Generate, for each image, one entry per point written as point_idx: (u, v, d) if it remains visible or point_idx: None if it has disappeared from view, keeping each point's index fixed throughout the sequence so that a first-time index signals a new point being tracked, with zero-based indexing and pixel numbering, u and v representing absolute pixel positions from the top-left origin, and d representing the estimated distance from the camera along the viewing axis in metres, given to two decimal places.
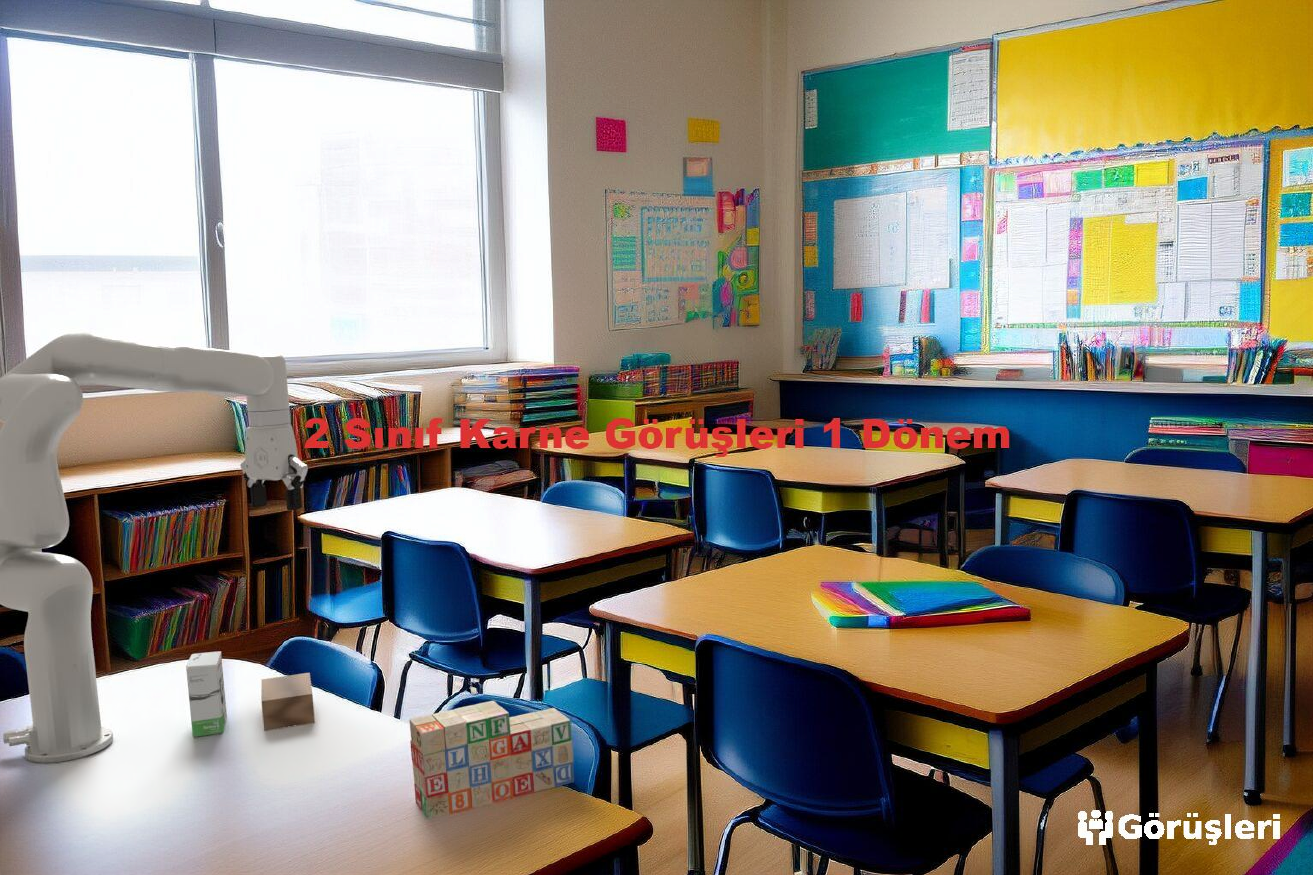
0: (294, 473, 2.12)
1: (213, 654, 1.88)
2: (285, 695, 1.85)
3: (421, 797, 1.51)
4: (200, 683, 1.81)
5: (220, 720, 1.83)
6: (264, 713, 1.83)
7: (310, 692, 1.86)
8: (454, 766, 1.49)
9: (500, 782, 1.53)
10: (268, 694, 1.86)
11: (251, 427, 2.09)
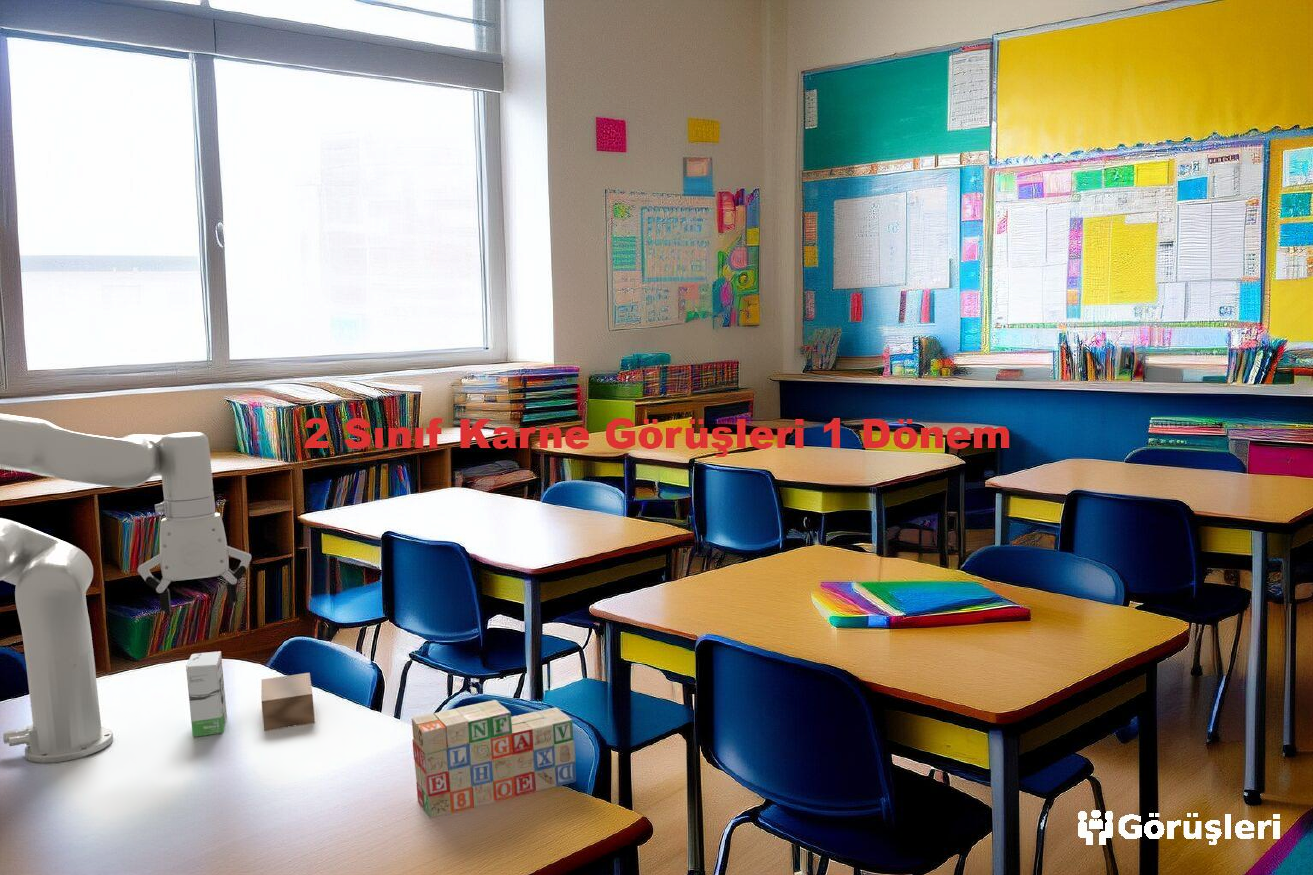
0: None
1: (213, 654, 1.88)
2: (285, 695, 1.85)
3: (423, 796, 1.51)
4: (200, 683, 1.81)
5: (220, 720, 1.83)
6: (264, 713, 1.83)
7: (310, 692, 1.86)
8: (456, 765, 1.50)
9: (502, 781, 1.53)
10: (268, 694, 1.86)
11: (184, 519, 1.78)
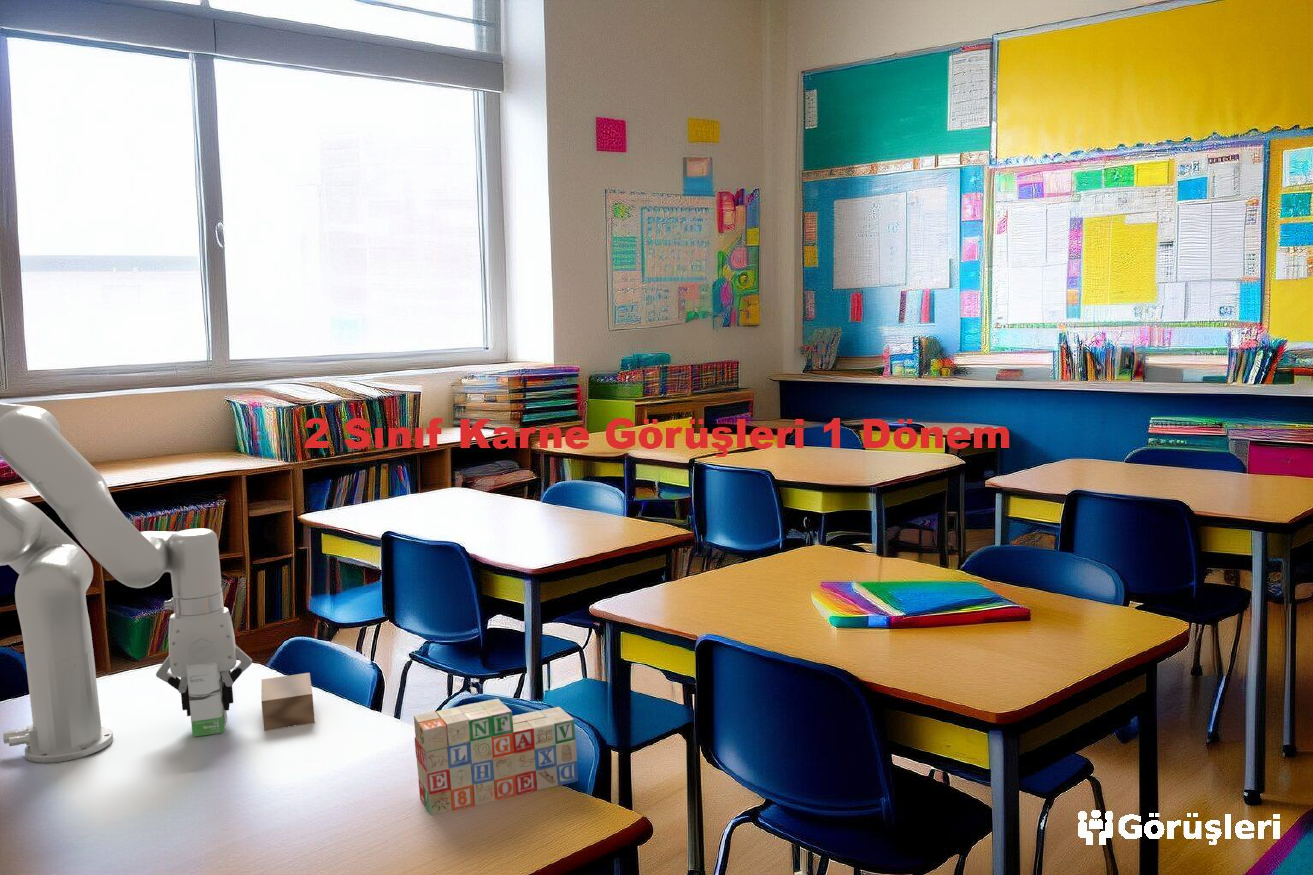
0: None
1: None
2: (285, 695, 1.85)
3: (424, 793, 1.52)
4: (200, 683, 1.81)
5: (220, 720, 1.83)
6: (264, 713, 1.83)
7: (310, 692, 1.86)
8: (456, 763, 1.50)
9: (503, 780, 1.53)
10: (268, 694, 1.86)
11: (192, 617, 1.80)
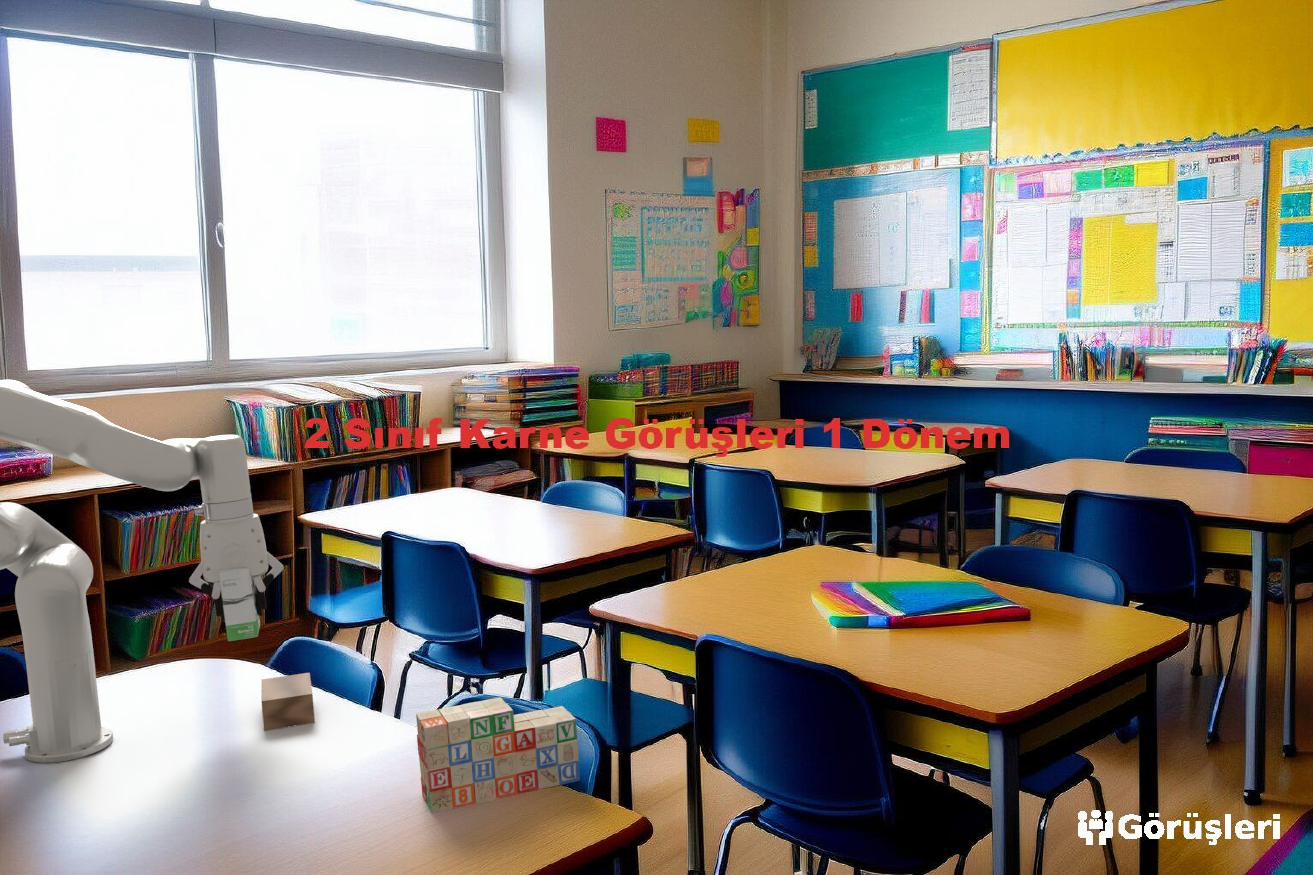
0: None
1: None
2: (285, 695, 1.85)
3: (426, 791, 1.53)
4: (233, 587, 1.81)
5: (254, 624, 1.83)
6: (264, 713, 1.83)
7: (310, 692, 1.86)
8: (457, 762, 1.51)
9: (504, 779, 1.54)
10: (268, 694, 1.86)
11: (223, 521, 1.80)
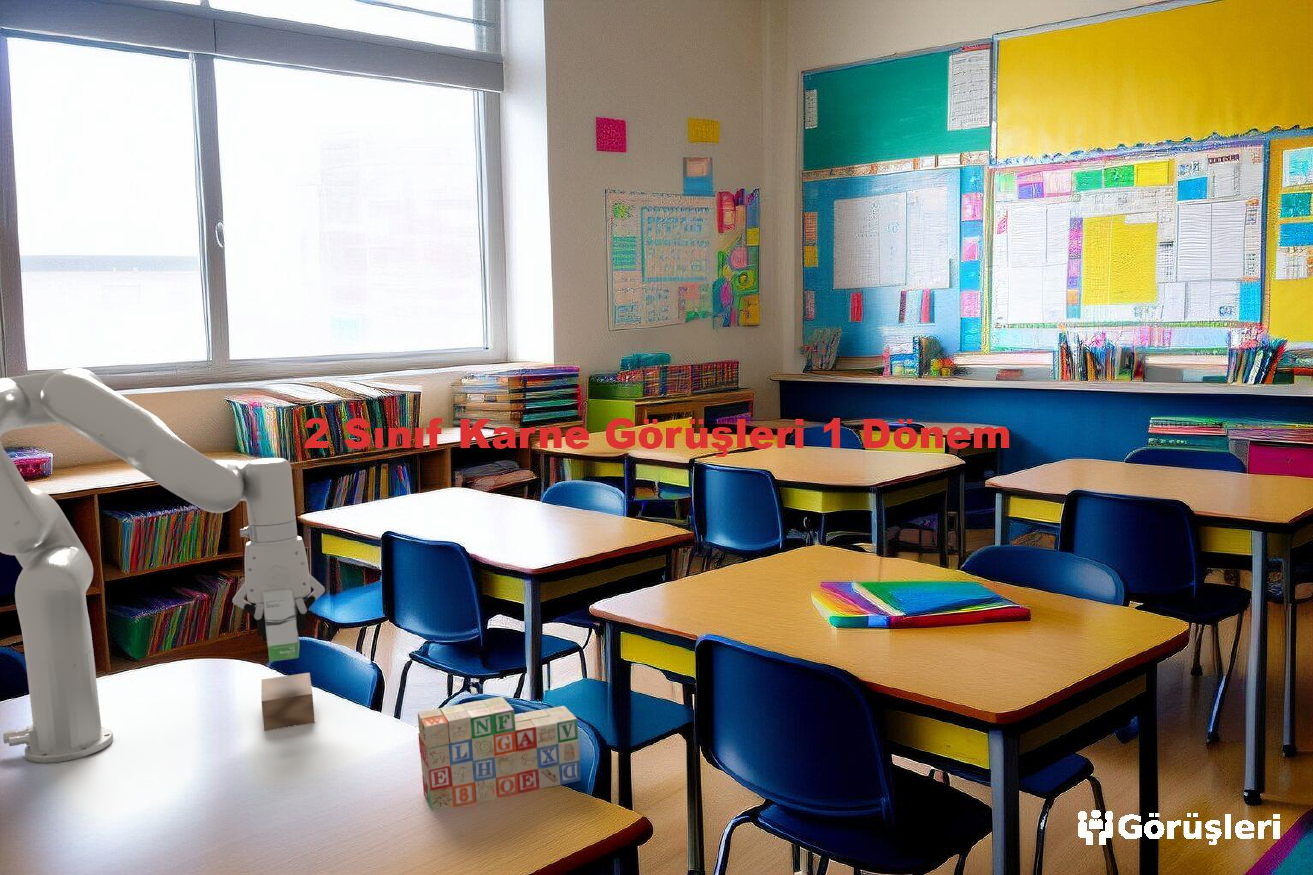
0: None
1: None
2: (285, 695, 1.85)
3: (427, 789, 1.53)
4: (276, 608, 1.84)
5: (296, 645, 1.85)
6: (264, 713, 1.83)
7: (310, 692, 1.86)
8: (458, 760, 1.51)
9: (505, 778, 1.54)
10: (268, 694, 1.86)
11: (268, 543, 1.83)
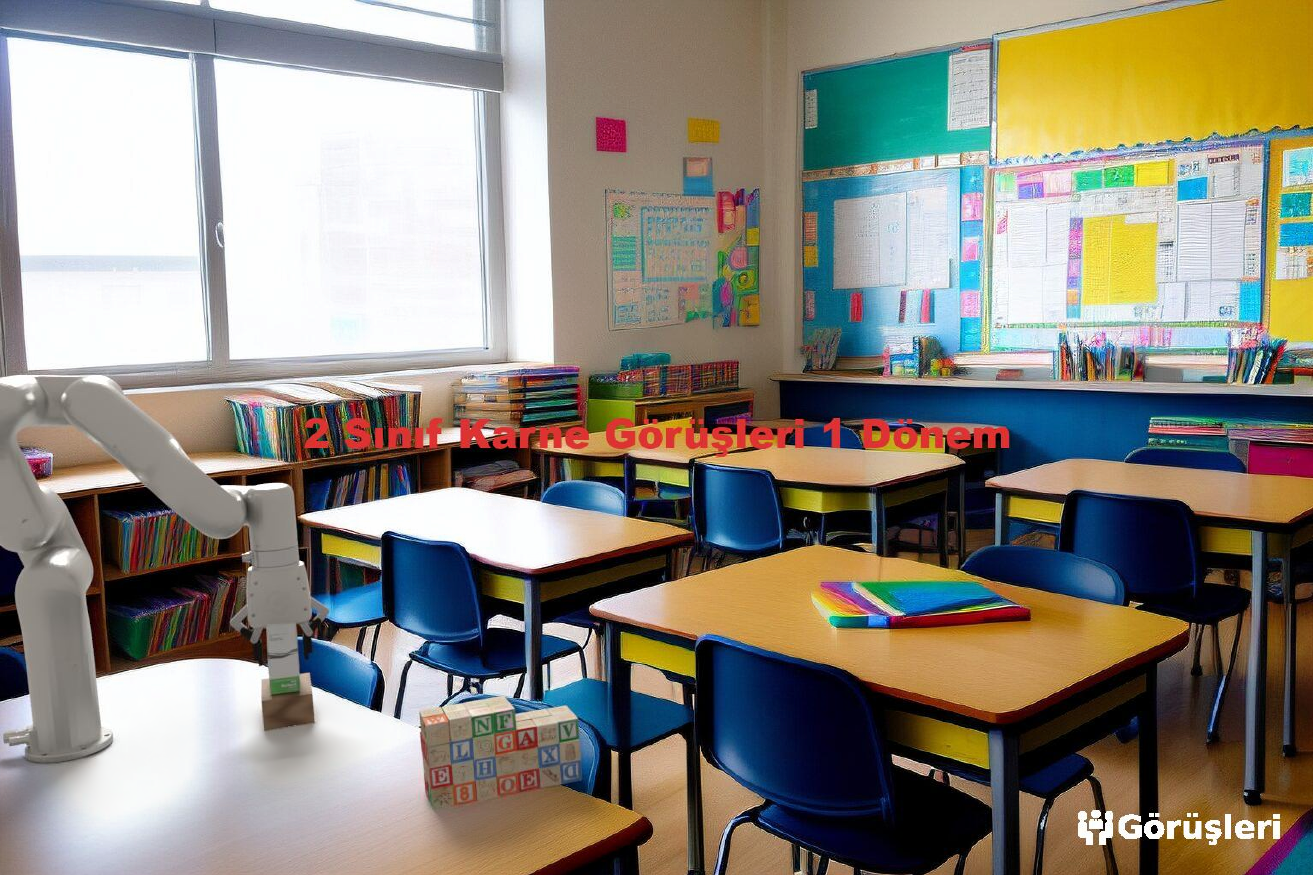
0: None
1: None
2: (285, 695, 1.85)
3: (428, 788, 1.54)
4: (279, 642, 1.85)
5: (297, 679, 1.86)
6: (264, 713, 1.83)
7: (310, 692, 1.86)
8: (459, 759, 1.52)
9: (505, 777, 1.54)
10: (268, 694, 1.86)
11: (270, 569, 1.83)
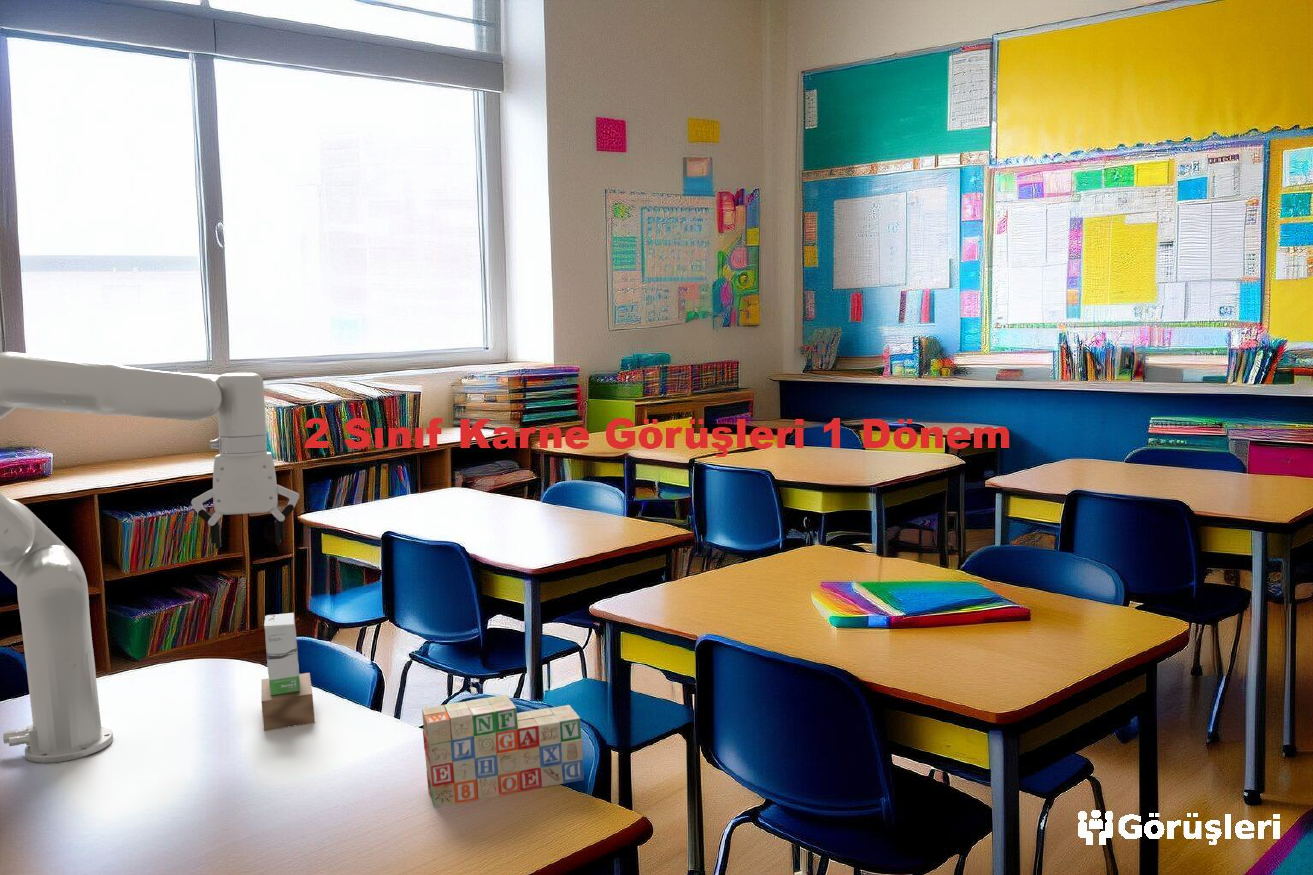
0: None
1: (286, 615, 1.91)
2: (285, 695, 1.85)
3: (430, 785, 1.54)
4: (278, 642, 1.85)
5: (297, 679, 1.86)
6: (264, 713, 1.83)
7: (310, 692, 1.86)
8: (460, 757, 1.52)
9: (507, 776, 1.55)
10: (268, 694, 1.86)
11: (237, 455, 1.86)
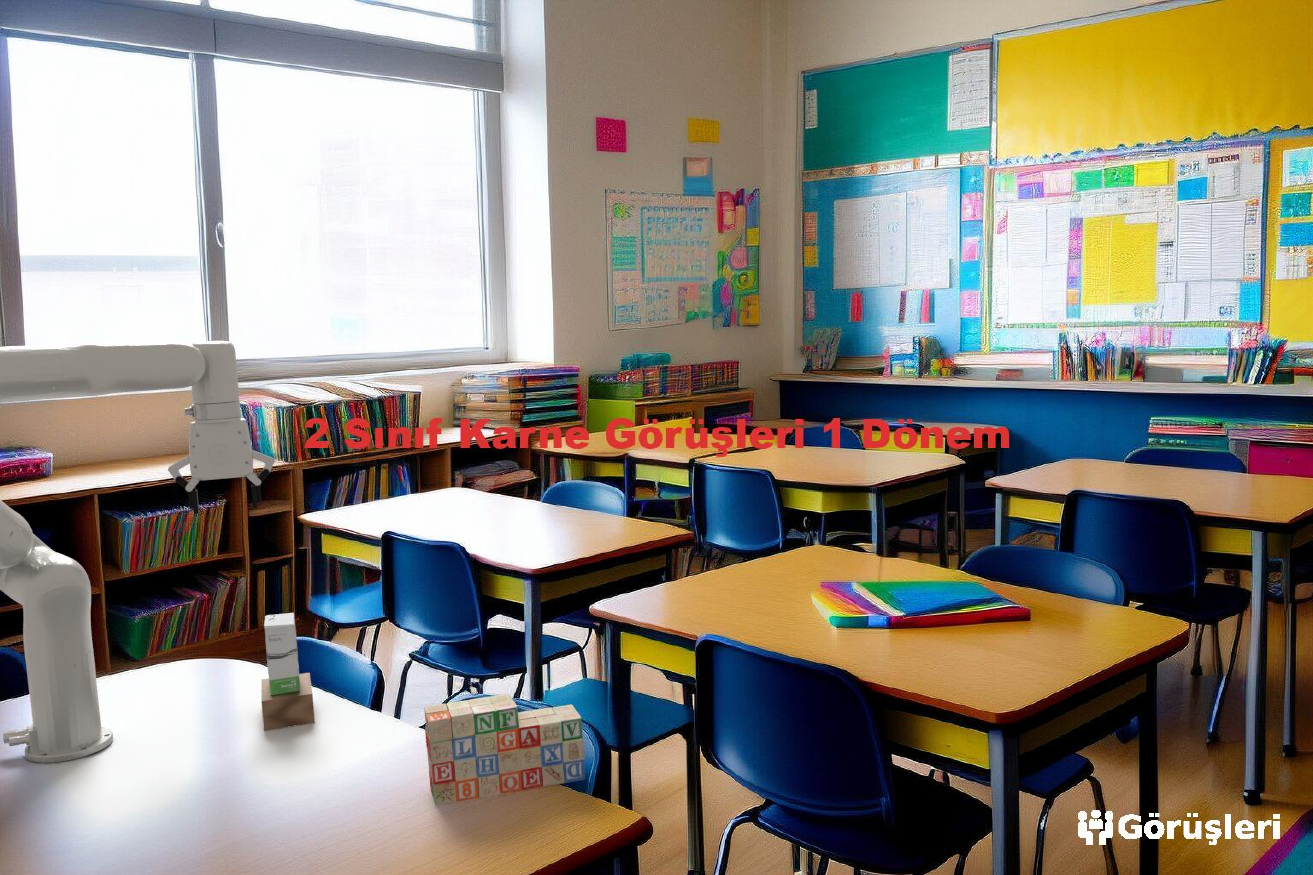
0: None
1: (286, 615, 1.91)
2: (285, 695, 1.85)
3: (432, 783, 1.55)
4: (278, 642, 1.85)
5: (297, 679, 1.86)
6: (264, 713, 1.83)
7: (310, 692, 1.86)
8: (461, 756, 1.53)
9: (508, 775, 1.55)
10: (268, 694, 1.86)
11: (212, 421, 1.90)
